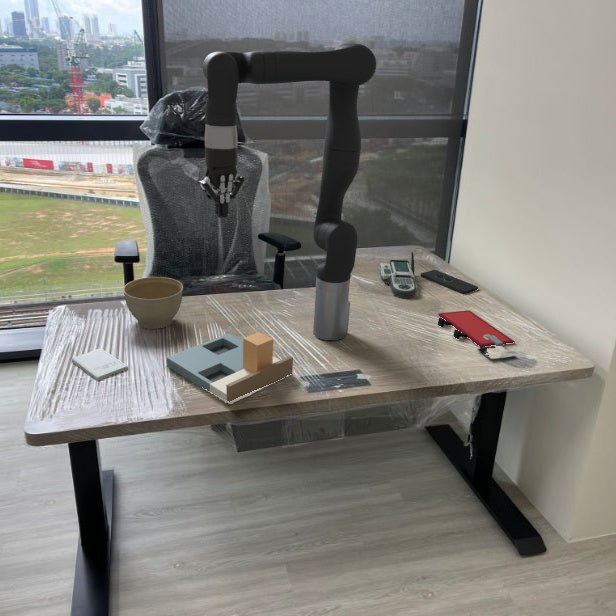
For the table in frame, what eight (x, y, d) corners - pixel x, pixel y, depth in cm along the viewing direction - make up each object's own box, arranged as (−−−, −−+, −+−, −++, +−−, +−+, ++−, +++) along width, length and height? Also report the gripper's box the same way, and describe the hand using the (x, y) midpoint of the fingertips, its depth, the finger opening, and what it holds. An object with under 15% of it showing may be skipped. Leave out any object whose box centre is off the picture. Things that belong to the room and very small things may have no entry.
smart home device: (434, 268, 220) (479, 286, 206) (434, 273, 220) (478, 291, 206) (419, 273, 215) (464, 291, 201) (419, 277, 216) (463, 296, 202)
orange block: (258, 360, 148) (258, 331, 145) (272, 368, 145) (273, 339, 142) (243, 367, 145) (243, 338, 142) (257, 375, 142) (257, 345, 139)
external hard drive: (102, 353, 155) (128, 371, 147) (72, 363, 149) (97, 382, 141) (101, 347, 154) (128, 365, 146) (71, 357, 148) (97, 376, 141)
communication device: (384, 299, 196) (386, 274, 192) (377, 272, 218) (379, 249, 214) (420, 300, 196) (424, 275, 192) (410, 274, 218) (413, 251, 214)
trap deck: (229, 341, 162) (229, 324, 160) (292, 375, 148) (293, 357, 146) (167, 366, 149) (166, 348, 147) (229, 405, 134) (229, 386, 132)
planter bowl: (114, 329, 166) (111, 293, 162) (145, 307, 180) (143, 273, 176) (166, 339, 162) (164, 302, 158) (194, 316, 176) (193, 281, 172)
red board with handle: (484, 363, 158) (531, 357, 163) (486, 354, 157) (533, 348, 162) (427, 318, 184) (468, 314, 189) (428, 310, 183) (470, 306, 188)
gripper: (208, 149, 133) (210, 225, 140) (253, 144, 142) (252, 216, 149) (188, 144, 138) (190, 218, 145) (232, 140, 147) (232, 209, 154)
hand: (222, 217), depth 147 cm, fingers closed
